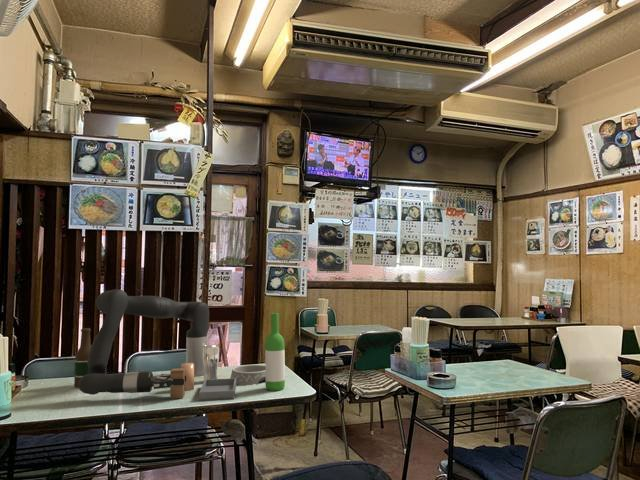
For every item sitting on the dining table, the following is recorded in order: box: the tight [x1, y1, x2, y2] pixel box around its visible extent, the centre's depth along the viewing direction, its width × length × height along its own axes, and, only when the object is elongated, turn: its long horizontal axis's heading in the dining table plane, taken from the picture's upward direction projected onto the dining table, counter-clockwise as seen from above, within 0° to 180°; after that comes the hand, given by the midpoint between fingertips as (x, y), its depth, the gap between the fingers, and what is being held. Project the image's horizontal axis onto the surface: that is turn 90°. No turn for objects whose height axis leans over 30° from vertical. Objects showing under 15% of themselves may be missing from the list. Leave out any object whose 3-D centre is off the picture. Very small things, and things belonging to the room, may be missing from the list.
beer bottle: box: [73, 327, 92, 389], centre depth 195 cm, size 8×8×24 cm
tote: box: [198, 377, 237, 401], centre depth 180 cm, size 21×13×3 cm, turn 8°
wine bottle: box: [264, 312, 286, 392], centre depth 186 cm, size 8×8×30 cm
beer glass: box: [202, 344, 220, 383], centre depth 200 cm, size 7×7×15 cm
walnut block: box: [169, 367, 186, 399], centre depth 175 cm, size 4×4×10 cm
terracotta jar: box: [180, 362, 195, 392], centre depth 187 cm, size 5×5×10 cm
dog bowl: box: [230, 364, 266, 386], centre depth 201 cm, size 17×18×5 cm
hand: (184, 380), depth 175 cm, fingers closed on walnut block, 4 cm apart
